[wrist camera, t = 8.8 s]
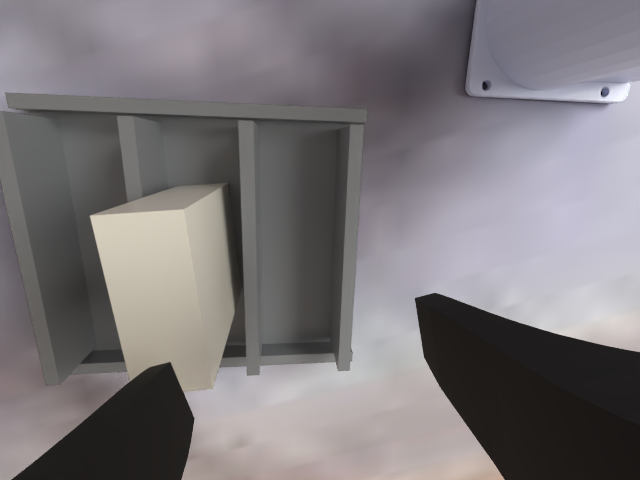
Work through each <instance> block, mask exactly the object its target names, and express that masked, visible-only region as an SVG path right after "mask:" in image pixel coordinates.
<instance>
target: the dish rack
mask: <svg viewBox="0 0 640 480" xmlns="http://www.w3.org/2000/svg"><path fill="white" fill-rule="evenodd" d="M5 94H6V99H7V104H8V108H12V109H18V110H25V111H29V113H30V115H26V114H19V113H12V112H5V111H0V181H1V186H2V190H3V195H4V199H5V204H6V208H7V213H8V217H9V222H10V226H11V231H12V235H13V240H14V244H15V249H16V253H17V258H18V262H19V267H20V271H21V276H22V280H23V285H24V289H25V294H26V298H27V303H28V307H29V312H30V316H31V321H32V326H33V330H34V335H35V339H36V344H37V348H38V353H39V357H40V362H41V366H42V371H43V375H44V380H45V384H46V385H60V384H61V383H62V382H63V381H64V380H65V379H66V378H67V377H68V376H69V375H70V374H88V373H109V372H127V368H126V364H125V359H124V355H123V351H122V347H121V343H120V339H119V335H118V330H117V326H116V322H115V318H114V314H113V310H112V306H111V301H110V297H109V293H108V289H107V285H106V281H105V277H104V273H103V268H102V264H101V260H100V256H99V252H98V248H97V244H96V239H95V235H94V231H93V227H92V223H91V219H90V215H93V214H96V213H99V212H102V211H105V210H108V209H111V208H114V207H117V206H120V205H123V204H126V203H129V202H132V201H135V200H138V199H141V198H144V197H146V196H149V195H152V194H155V193H158V192H161V191H164V190H167V189H170V188H173V187H176V186H184V185H201V184H218V183H228V186H229V194H230V202H231V210H232V218H233V226H234V235H235V243H236V251H237V259H238V267H239V275H240V283H241V293H240V296H239V300H238V303H237V307H236V310H235V314H234V317H233V321H232V324H231V328H230V331H229V334H228V338H227V341H226V345H225V348H224V352H223V355H222V359H221V362H220V366H219V367H239V366H247V376H248V375H259V373H260V366H261V365H282V364H304V363H326V362H336V365H337V369H338V371H349V370H350V361H352V354H353V352H352V349H351V338H352V321H353V304H354V288H355V271H356V254H357V237H358V220H359V204H360V187H361V170H362V153H363V137H364V125H361V124H363V123H366V122H367V109H356V108H334V107H311V106H289V105H267V104H245V103H223V102H201V101H179V100H157V99H135V98H112V97H90V96H68V95H46V94H24V93H5Z"/></svg>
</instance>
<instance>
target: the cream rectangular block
mask: <svg viewBox="0 0 640 480" xmlns="http://www.w3.org/2000/svg"><path fill="white" fill-rule="evenodd" d="M90 219H91V223H92V227H93V231H94V235H95V239H96V244H97V248H98V252H99V256H100V260H101V264H102V268H103V273H104V277H105V281H106V285H107V289H108V293H109V297H110V301H111V306H112V310H113V314H114V318H115V322H116V326H117V330H118V335H119V339H120V343H121V347H122V351H123V355H124V359H125V364H126V368H127V372H128V376H129V380H130V381H131V380H133V379H134V378H135V377H136V376H138V375H139V374H140V373H142V372H143V371H144V370H146V369H147V368H149V367H152V366H156V365H160V364H164V363H167V362H171V364H172V367H173V369H174V371H175V374H176V376H177V379H178V381H179V383H180V386H181V388H182V390H183V392H187V391H196V390H204V389H213V386H214V383H215V380H216V376H217V373H218V369H219V366H220V362H221V359H222V355H223V352H224V348H225V345H226V341H227V338H228V334H229V331H230V328H231V324H232V321H233V317H234V314H235V310H236V307H237V303H238V300H239V296H240V293H241V283H240V275H239V267H238V259H237V251H236V243H235V235H234V226H233V218H232V210H231V202H230V194H229V186H228V183H218V184H201V185H184V186H176V187H173V188H170V189H167V190H164V191H161V192H158V193H155V194H152V195H149V196H146V197H144V198H141V199H138V200H135V201H132V202H129V203H126V204H123V205H120V206H117V207H114V208H111V209H108V210H105V211H102V212H99V213H96V214H93V215H90Z"/></svg>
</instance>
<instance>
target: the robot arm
mask: <svg viewBox="0 0 640 480" xmlns="http://www.w3.org/2000/svg"><path fill="white" fill-rule="evenodd" d="M635 81H640V0H477V1H476V9H475V16H474V24H473V31H472V39H471V47H470V54H469V62H468V69H467V77H466V85H465V90H466V92H467V94H469V95H470V96H476V97H496V98H515V99H534V100H553V101H573V102H592V103H611V104H613V103H620V102H622V101H624V100H625V99H626V97H627V95H628V92H629V88H630V85H631V82H635ZM483 82H485V83H486V84H487V88H486V90H483V88H482V84H483ZM601 90H602V91H603V94H602V96H601ZM415 302H416V308H417V315H418V321H419V328H420V334H421V340H422V347H423V353H424V358H425V360H426V362H427V363H428V365H429V367H430V369H431V371H432V373H433V375H434V377H435V378H436V380H437V382H438V384H439V386H440V387H441V389H442V390H443V392H444V393H445V395H446V396H447V398H448V399H449V400H450V402H451V403H452V405H453V406H454V408H455V409H456V410H457V412H458V413H459V415H460V416H461V417H462V419H463V420H464V422H465V423H466V424H467V426H468V427H469V429H470V430H471V431H472V433H473V434H474V436H475V437H476V439H477V440H478V441H479V443H480V444H481V446H482V447H483V448H484V450H485V451H486V453H487V454H488V455H489V457H490V458H491V460H492V461H493V462H494V464H495V465H496V467H497V468H498V470H499V472H500V473H501V475H502V476H503V478H504V479H505V480H640V352H635V351H629V350H624V349H619V348H614V347H609V346H604V345H600V344H595V343H591V342H587V341H583V340H579V339H575V338H570V337H566V336H562V335H559V334H555V333H551V332H548V331H544V330H541V329H538V328H534V327H531V326H528V325H525V324H521V323H518V322H515V321H512V320H509V319H506V318H503V317H501V316H498V315H495V314H492V313H489V312H487V311H484V310H481V309H478V308H476V307H473V306H470V305H468V304H465V303H463V302H460V301H457V300H455V299H452V298H449V297H446V296H443V295H440V294H437V293H433V294H429V295H425V296H421V297H418V298H415ZM193 424H194V417H193V414H192V412H191V409H190V407H189V405H188V402H187V400H186V398H185V395H184V393H183V390H182V388H181V386H180V383H179V381H178V379H177V376H176V374H175V371H174V369H173V367H172V364H171V362H167V363H164V364H160V365H156V366H152V367H149V368H147V369H146V370H144V371H143V372H142V373H140V374H139V375H138V376H136V377H135V378H134V379H133V380H131V381H130V382H129V383H128V384H127V385H125V386H124V387H123V388H122V389H121V390H119V391H118V392H117V393H116V394H115V395H114V396H112V397H111V398H110V399H109V400H108V401H107V402H105V403H104V404H103V405H102V406H101V407H100V408H98V409H97V410H96V411H95V412H94V413H93V414H91V415H90V416H89V417H88V418H87V419H86V420H84V421H83V422H82V423H81V424H80V425H79V426H77V427H76V428H75V429H74V430H73V431H71V432H70V433H69V434H68V435H66V436H65V437H64V438H63V439H62V440H60V441H59V442H58V443H57V444H55V445H54V446H53V447H52V448H51V449H49V450H48V451H47V452H46V453H44V454H43V455H42V456H41V457H40V458H38V459H37V460H36V461H35V462H33V463H32V464H31V465H30V466H28V467H27V468H26V469H25V470H23V471H22V472H21V473H19V474H18V475H17V476H16V477H14V478H13V479H12V480H181V478H182V475H183V472H184V468H185V465H186V461H187V458H188V453H189V448H190V443H191V437H192V431H193Z"/></svg>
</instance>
